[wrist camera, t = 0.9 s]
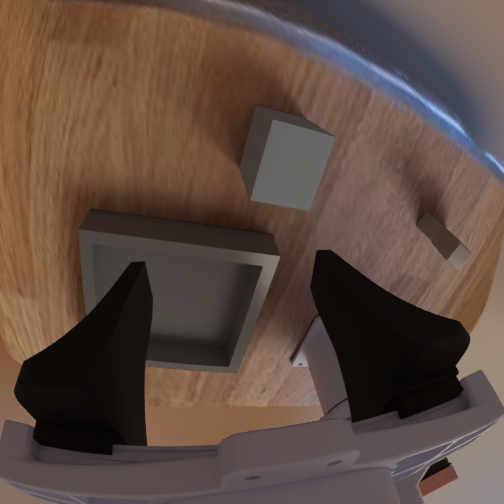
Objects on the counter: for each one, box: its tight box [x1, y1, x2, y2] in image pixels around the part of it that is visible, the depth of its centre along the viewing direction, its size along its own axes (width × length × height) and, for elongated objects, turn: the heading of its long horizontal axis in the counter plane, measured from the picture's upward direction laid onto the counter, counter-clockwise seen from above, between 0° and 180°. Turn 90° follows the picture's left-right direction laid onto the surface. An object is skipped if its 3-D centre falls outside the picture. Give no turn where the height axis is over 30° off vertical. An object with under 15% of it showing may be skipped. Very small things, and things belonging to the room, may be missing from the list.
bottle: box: [418, 457, 458, 497], centre depth 32 cm, size 7×7×20 cm
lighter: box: [416, 212, 471, 270], centre depth 23 cm, size 7×2×8 cm, turn 58°
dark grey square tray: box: [79, 209, 280, 373], centre depth 25 cm, size 14×14×3 cm
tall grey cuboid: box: [239, 106, 336, 211], centre depth 18 cm, size 4×4×6 cm
